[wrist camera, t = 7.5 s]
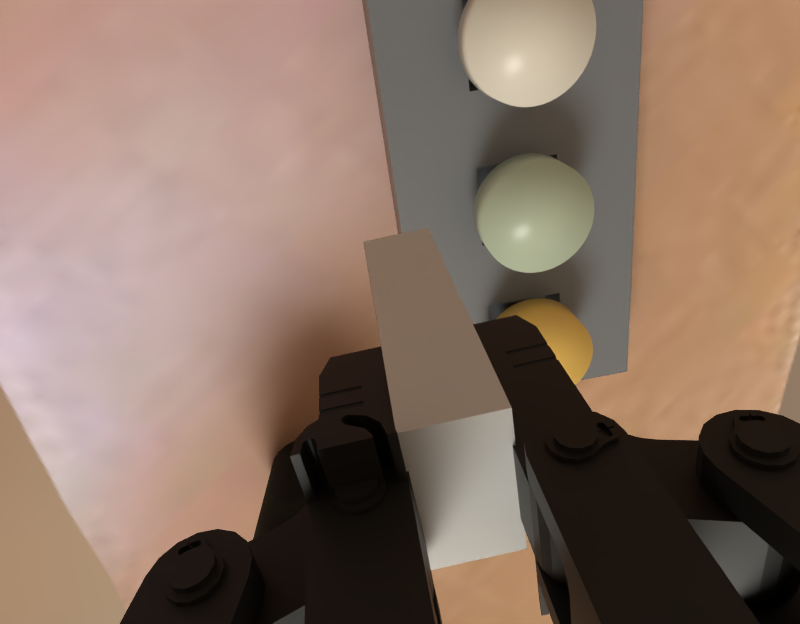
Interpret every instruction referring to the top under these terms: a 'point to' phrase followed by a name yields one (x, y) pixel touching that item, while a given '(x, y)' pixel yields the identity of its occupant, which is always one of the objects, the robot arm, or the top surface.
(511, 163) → the button sage
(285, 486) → the cup
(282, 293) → the top surface
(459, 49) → the button cream
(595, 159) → the panel
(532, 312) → the button amber
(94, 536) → the top surface
